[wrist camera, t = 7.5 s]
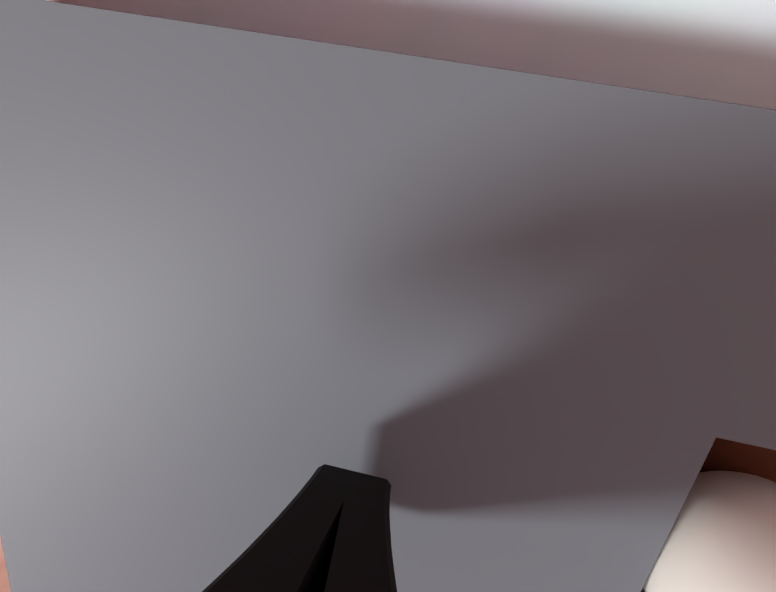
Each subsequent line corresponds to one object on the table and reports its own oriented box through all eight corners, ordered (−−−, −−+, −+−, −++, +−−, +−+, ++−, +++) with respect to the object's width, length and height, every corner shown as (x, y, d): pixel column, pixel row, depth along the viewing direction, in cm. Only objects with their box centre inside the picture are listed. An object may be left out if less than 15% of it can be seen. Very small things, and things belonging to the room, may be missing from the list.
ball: (689, 527, 13) (876, 682, 9) (582, 587, 11) (759, 797, 8) (734, 413, 11) (981, 552, 8) (615, 465, 9) (859, 667, 6)
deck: (835, 754, 13) (916, 886, 11) (84, 550, 15) (16, 623, 13) (1295, 211, 8) (1656, 241, 5) (29, 16, 10) (-103, -22, 8)
